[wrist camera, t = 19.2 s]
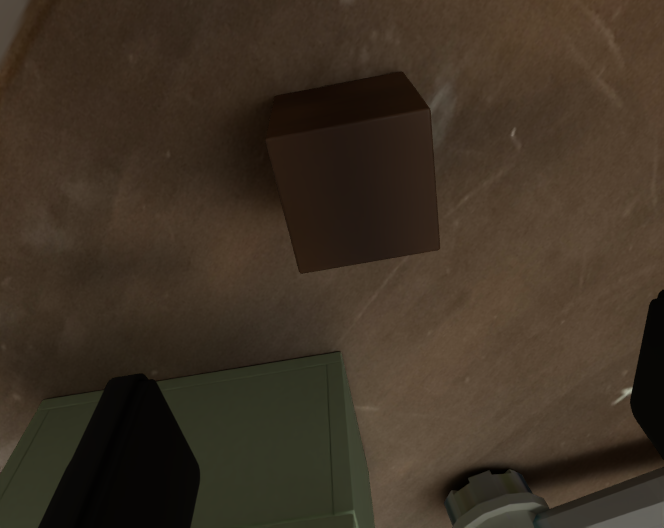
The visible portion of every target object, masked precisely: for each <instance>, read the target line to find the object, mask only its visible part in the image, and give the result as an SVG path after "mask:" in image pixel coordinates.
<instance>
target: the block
mask: <svg viewBox="0 0 664 528" xmlns="http://www.w3.org/2000/svg"><path fill="white" fill-rule="evenodd" d="M265 142H266V146H267V150H268V154H269V158H270V162H271V165H272V169H273V173H274V177H275V181H276V185H277V189H278V192H279V196H280V200H281V204H282V208H283V212H284V216H285V219H286V223H287V227H288V231H289V235H290V239H291V243H292V246H293V250H294V254H295V258H296V262H297V266H298V270H299V272H300V273H301V274H303V273H308V272H314V271H320V270H326V269H331V268H337V267H343V266H349V265H355V264H360V263H366V262H372V261H378V260H384V259H389V258H395V257H401V256H407V255H413V254H418V253H424V252H430V251H436V250H439V249H440V238H439V224H438V210H437V196H436V181H435V167H434V153H433V139H432V125H431V110H430V108H429V106H428V105H427V104H426V102H425V101H424V100H423V98H422V97H421V96H420V94H419V93H418V92H417V90H416V89H415V87H414V86H413V85H412V83H411V82H410V81H409V79H408V78H407V77H406V75H405V74H404V73H403V72H396V73H391V74H386V75H381V76H376V77H371V78H366V79H361V80H355V81H350V82H345V83H340V84H335V85H330V86H325V87H320V88H314V89H309V90H304V91H299V92H294V93H289V94H284V95H279V96H275V97H274V101H273V106H272V110H271V115H270V120H269V125H268V129H267V134H266V139H265Z"/></svg>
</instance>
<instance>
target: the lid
mask: <svg viewBox="0 0 664 528" xmlns="http://www.w3.org/2000/svg"><path fill="white" fill-rule="evenodd" d="M256 528H356V525H355V520H354V516H353V514H348V515H341V516H334V517H327V518H320V519H313V520H306V521H299V522H292V523H284V524H277V525H270V526H263V527H256Z"/></svg>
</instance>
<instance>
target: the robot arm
mask: <svg viewBox="0 0 664 528" xmlns="http://www.w3.org/2000/svg"><path fill="white" fill-rule="evenodd" d="M630 404H631V409H632V413H633V415H634V417H635V419H636V421H637V422H638V424H639V425H640V426H641V428H642V429H643V431H644V432H645V434H646V435H647V437H648V438H649V439H650V441H651V442H652V444H653V445H654V447H655V448H656V450H657V451H658V452H659V454H660V455H661V457H662V458H663V460H664V290H662V291H661V292H660V293H659V295H658V297H657V299H653V300H652V301H651V302H650V305H649V310H648V315H647V319H646V324H645V329H644V334H643V339H642V344H641V349H640V354H639V359H638V364H637V369H636V374H635V379H634V384H633V389H632V394H631V399H630ZM199 485H200V468H199V464H198V462H197V460H196V458H195V456H194V454H193V452H192V450H191V448H190V446H189V444H188V443H187V441H186V439H185V437H184V435H183V433H182V431H181V429H180V427H179V425H178V423H177V421H176V419H175V417H174V415H173V413H172V411H171V409H170V407H169V405H168V403H167V402H166V400H165V398H164V396H163V394H162V392H161V390H160V388H159V386H158V384H157V382H156V381H155V380H153V379H151V380H148V378H147V377H146V376H145V375H144V374H134V375H128V376H122V377H115V378H112V379H111V380H109V382H108V383H107V385H106V387H105V389H104V391H103V393H102V396H101V398H100V400H99V402H98V404H97V406H96V408H95V410H94V413H93V415H92V417H91V419H90V421H89V423H88V425H87V427H86V430H85V432H84V434H83V436H82V438H81V440H80V442H79V444H78V447H77V449H76V451H75V453H74V455H73V457H72V459H71V461H70V462H69V464H68V466H67V467H66V469H65V471H64V474H63V476H62V478H61V480H60V482H59V484H58V486H57V488H56V490H55V493H54V495H53V497H52V499H51V501H50V503H49V505H48V507H47V509H46V512H45V514H44V516H43V518H42V520H41V522H40V524H39V526H38V528H191V523H192V518H193V514H194V509H195V504H196V499H197V494H198V490H199Z"/></svg>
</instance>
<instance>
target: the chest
mask: <svg viewBox="0 0 664 528" xmlns="http://www.w3.org/2000/svg"><path fill="white" fill-rule="evenodd" d="M157 384H158V386H159V388H160V390H161V392H162V394H163V396H164V398H165V400H166V402H167V403H168V405H169V407H170V409H171V411H172V413H173V415H174V417H175V419H176V421H177V423H178V425H179V427H180V429H181V431H182V433H183V435H184V437H185V439H186V441H187V443H188V444H189V446H190V448H191V450H192V452H193V454H194V456H195V458H196V460H197V462H198V464H199V468H200V485H199V490H198V494H197V499H196V504H195V509H194V514H193V518H192V523H191V528H256V527H263V526H270V525H277V524H284V523H292V522H299V521H306V520H313V519H320V518H327V517H334V516H341V515H348V514H353V516H354V520H355V525H356V528H375V524H374V515H373V506H372V498H371V489H370V482H369V472H368V468H367V463H366V459H365V455H364V450H363V446H362V441H361V437H360V433H359V428H358V424H357V419H356V415H355V411H354V406H353V402H352V397H351V393H350V389H349V384H348V380H347V376H346V371H345V367H344V362H343V358H342V354H341V352H335V353H329V354H323V355H317V356H311V357H305V358H298V359H292V360H286V361H280V362H274V363H268V364H261V365H255V366H249V367H243V368H237V369H231V370H224V371H218V372H212V373H206V374H200V375H194V376H187V377H181V378H175V379H169V380H163V381H157ZM103 391H104V390H101V391H95V392H89V393H83V394H76V395H70V396H64V397H58V398H52V399H46V400H43V401H42V402H41V404H40V406H39V407H38V409H37V412H36V413H35V415H34V416H33V418H32V420H31V422H30V423H29V425H28V427H27V429H26V430H25V432H24V434H23V435H22V437H21V439H20V441H19V442H18V444H17V446H16V448H15V449H14V451H13V453H12V455H11V456H10V458H9V460H8V461H7V463H6V465H5V467H4V468H3V470H2V472H1V474H0V528H38V526H39V524H40V522H41V520H42V518H43V516H44V514H45V512H46V509H47V507H48V505H49V503H50V501H51V499H52V497H53V495H54V493H55V490H56V488H57V486H58V484H59V482H60V480H61V478H62V476H63V474H64V471H65V469H66V467H67V466H68V464H69V462H70V461H71V459H72V457H73V455H74V453H75V451H76V449H77V447H78V444H79V442H80V440H81V438H82V436H83V434H84V432H85V430H86V427H87V425H88V423H89V421H90V419H91V417H92V415H93V413H94V410H95V408H96V406H97V404H98V402H99V400H100V398H101V396H102V393H103Z"/></svg>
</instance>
